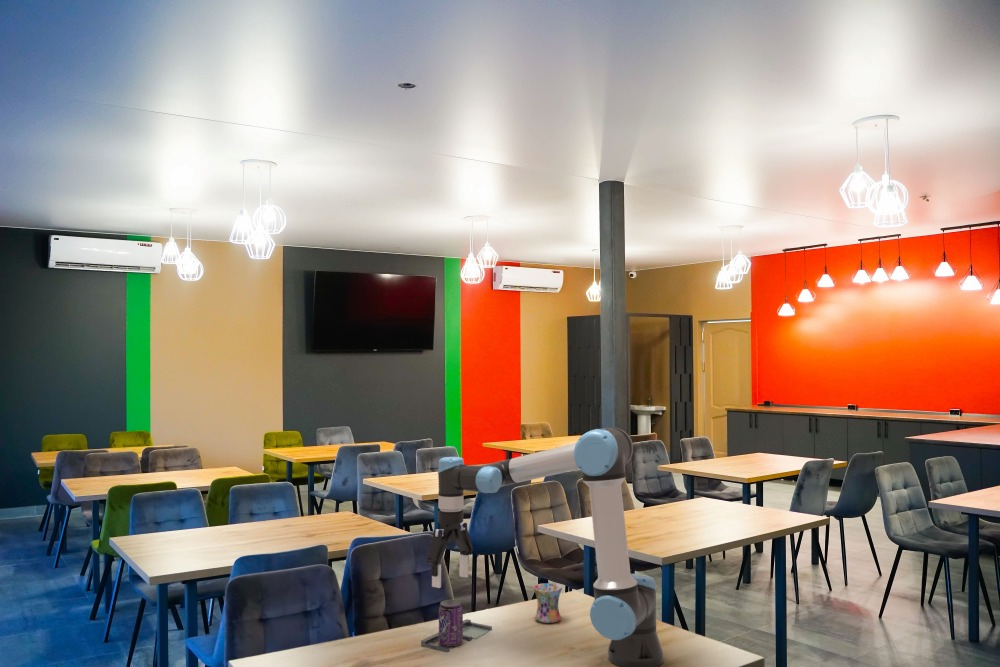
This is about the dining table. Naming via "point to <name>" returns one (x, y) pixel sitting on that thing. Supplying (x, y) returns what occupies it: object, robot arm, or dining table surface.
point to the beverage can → (450, 623)
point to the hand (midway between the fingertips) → (450, 581)
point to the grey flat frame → (467, 635)
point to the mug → (547, 602)
